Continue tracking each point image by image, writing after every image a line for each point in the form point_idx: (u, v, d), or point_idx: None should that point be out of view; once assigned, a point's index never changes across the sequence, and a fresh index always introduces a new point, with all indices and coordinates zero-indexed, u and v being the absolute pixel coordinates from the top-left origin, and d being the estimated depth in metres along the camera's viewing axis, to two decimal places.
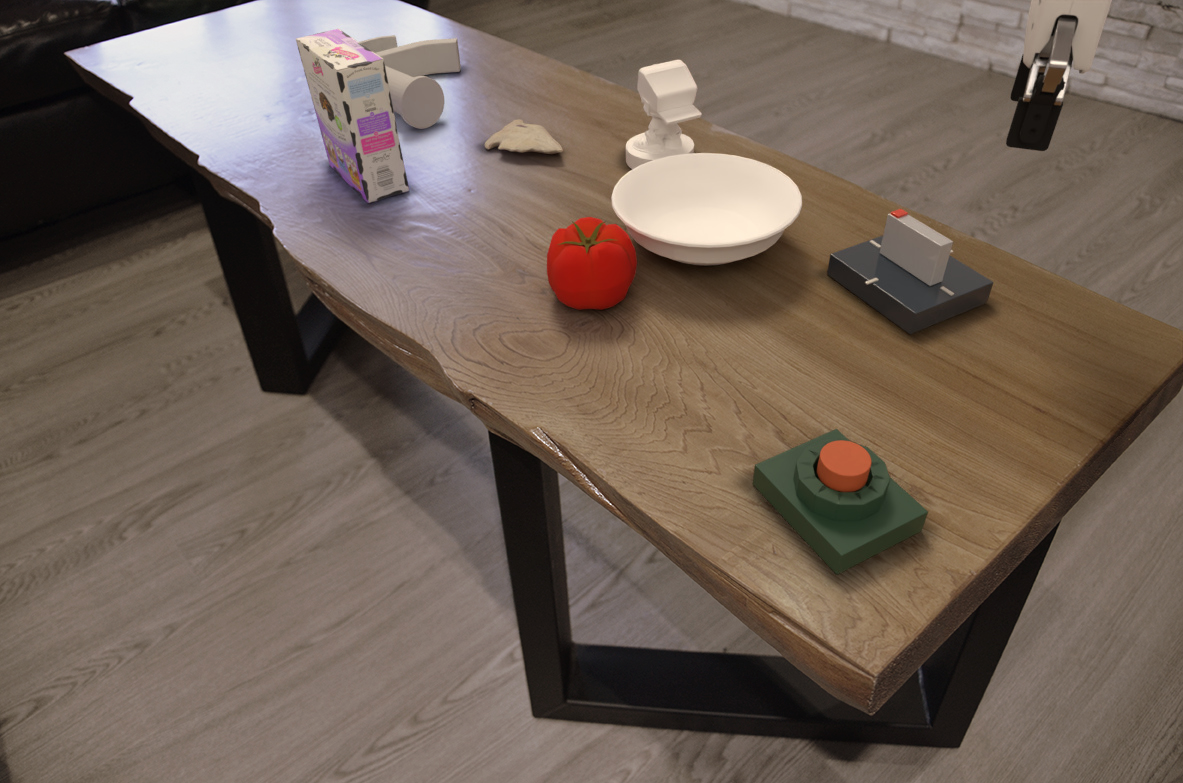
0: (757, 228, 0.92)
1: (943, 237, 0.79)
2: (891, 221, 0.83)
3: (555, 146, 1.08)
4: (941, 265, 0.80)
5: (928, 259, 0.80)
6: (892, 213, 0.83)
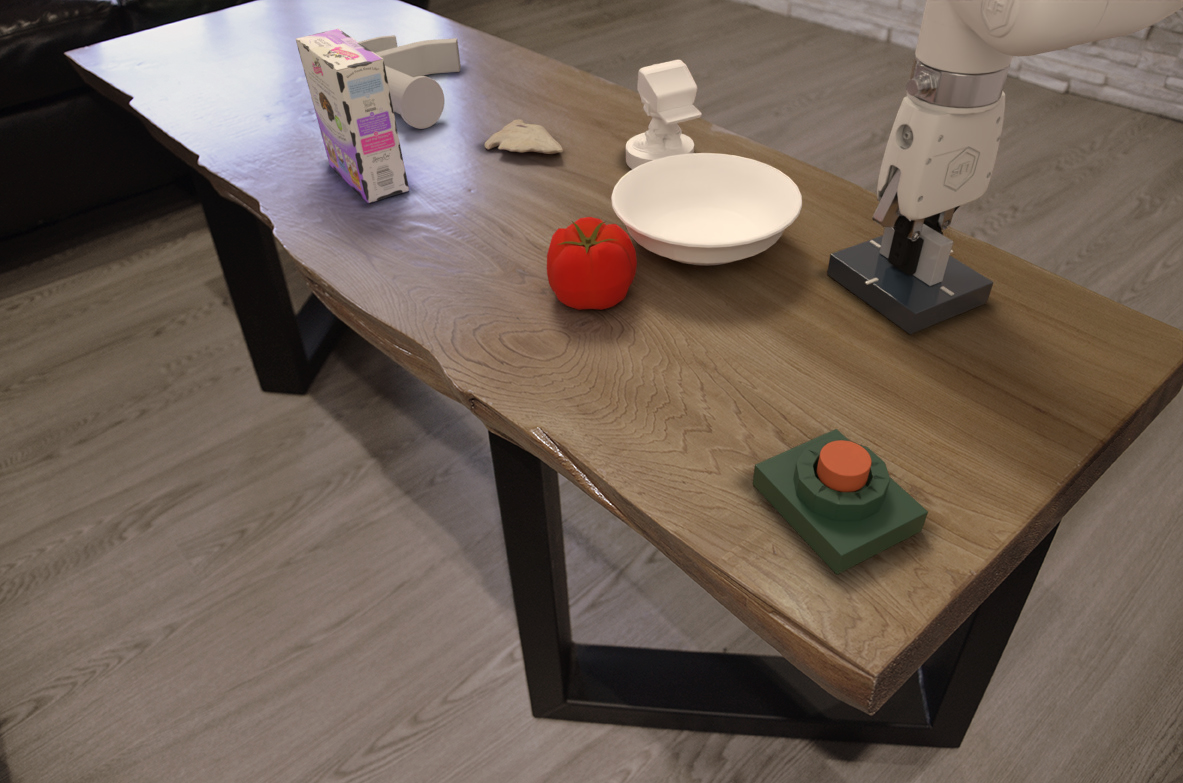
0: (757, 228, 0.92)
1: (943, 237, 0.79)
2: None
3: (555, 146, 1.08)
4: (941, 265, 0.80)
5: (928, 259, 0.80)
6: None
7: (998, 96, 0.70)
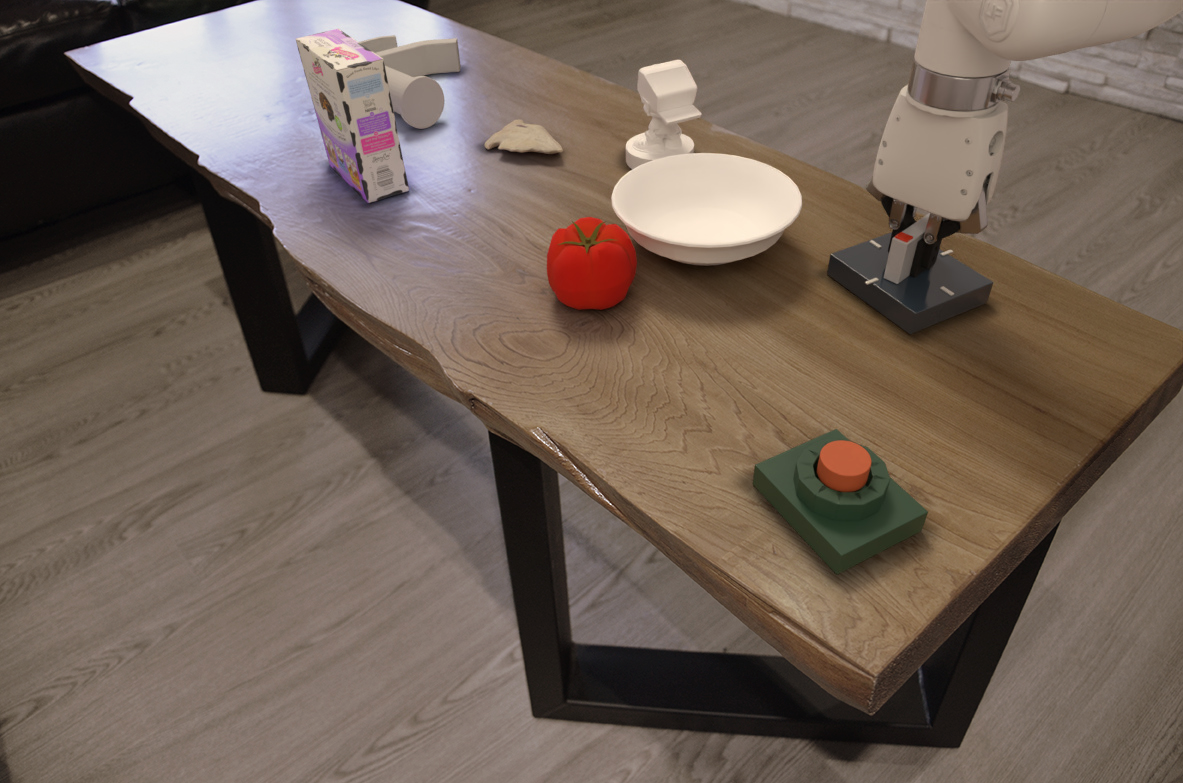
0: (757, 228, 0.92)
1: (929, 215, 0.82)
2: (910, 246, 0.79)
3: (555, 146, 1.08)
4: None
5: None
6: (908, 240, 0.79)
7: None
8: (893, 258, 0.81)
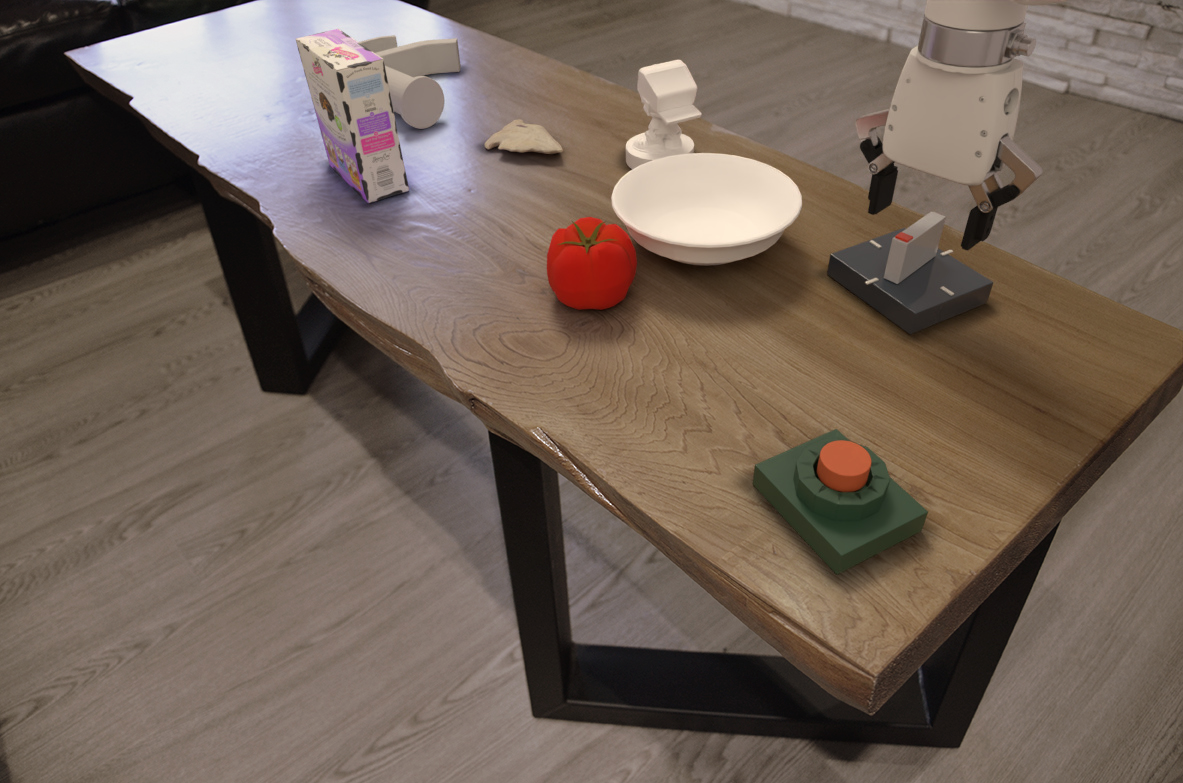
0: (757, 228, 0.92)
1: (929, 215, 0.82)
2: (910, 246, 0.79)
3: (555, 146, 1.08)
4: None
5: (936, 237, 0.83)
6: (908, 240, 0.79)
7: None
8: (893, 258, 0.81)
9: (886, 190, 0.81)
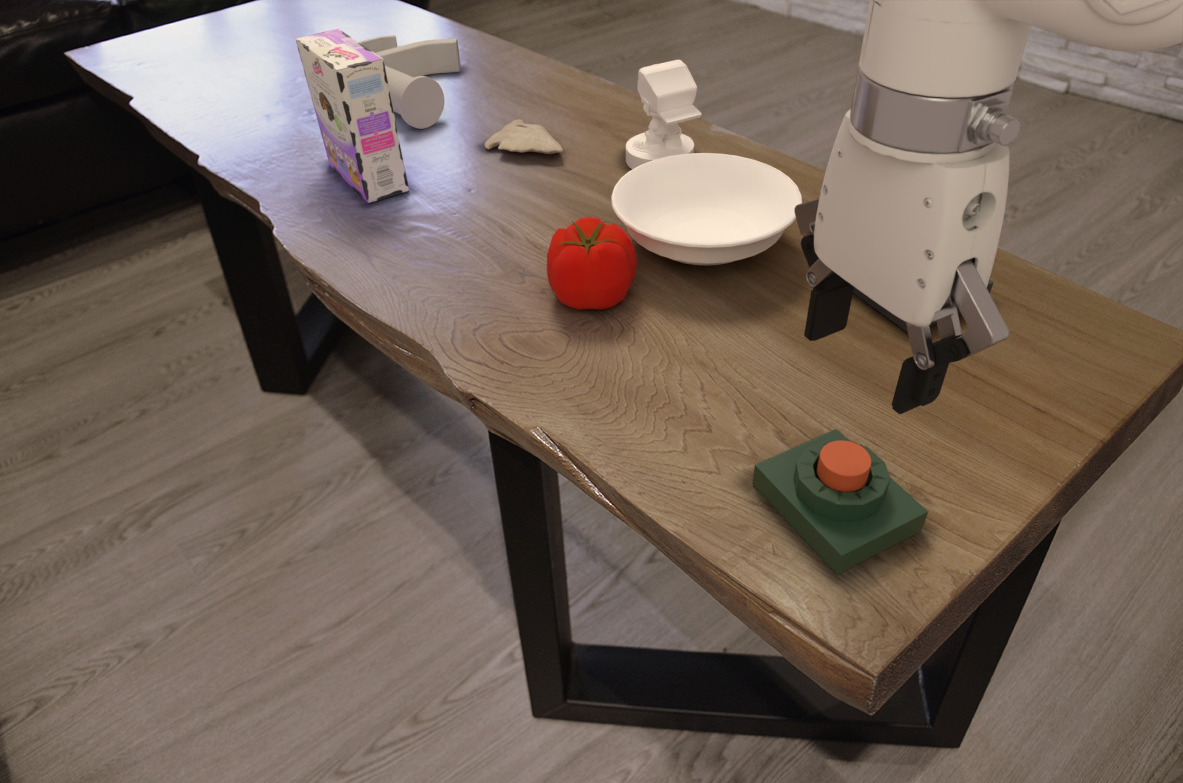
0: (757, 228, 0.92)
1: None
2: None
3: (555, 146, 1.08)
4: None
5: None
6: None
7: None
8: None
9: (832, 310, 0.56)
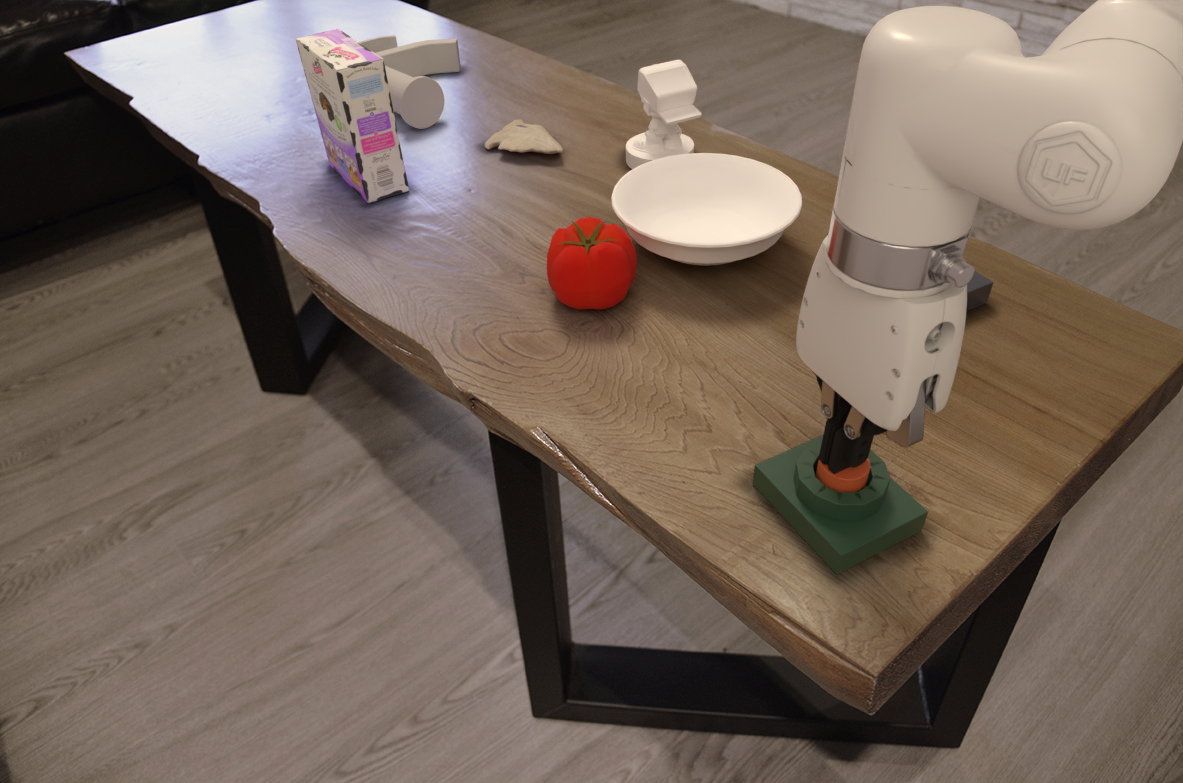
0: (757, 228, 0.92)
1: None
2: None
3: (555, 146, 1.08)
4: None
5: None
6: None
7: None
8: None
9: None
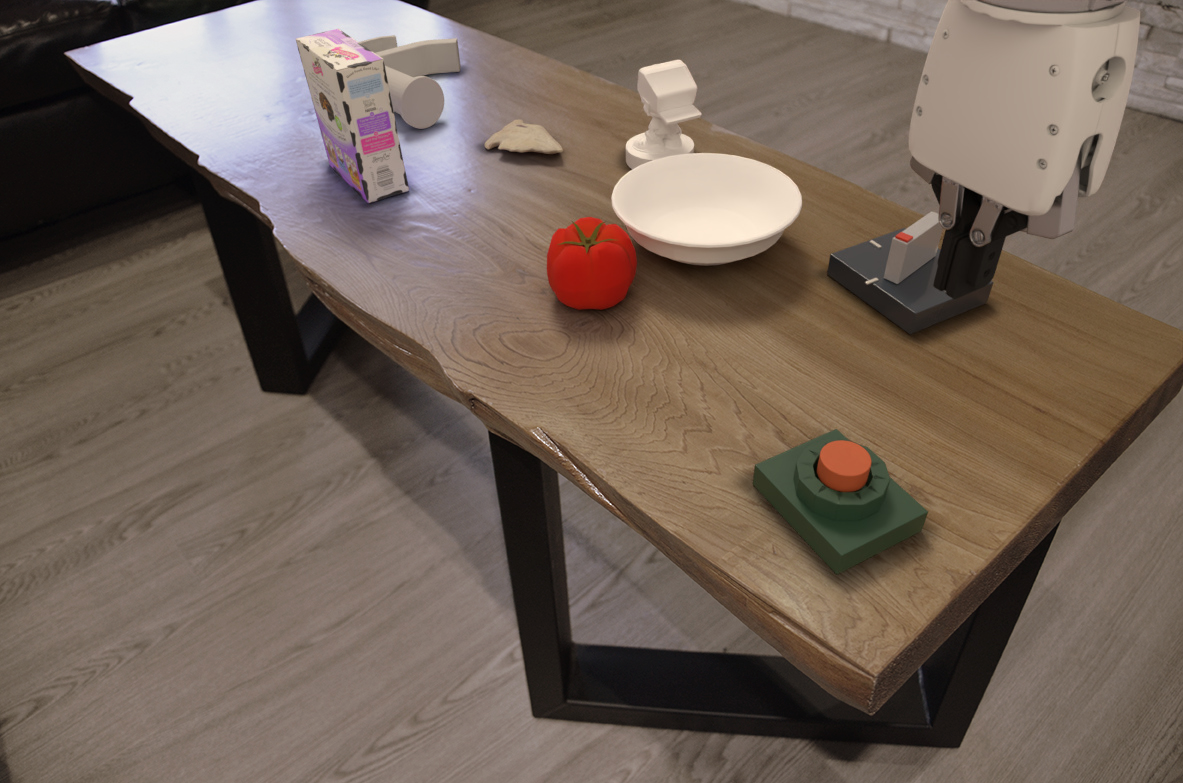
0: (757, 228, 0.92)
1: (929, 215, 0.82)
2: (910, 246, 0.79)
3: (555, 146, 1.08)
4: None
5: (936, 237, 0.83)
6: (908, 240, 0.79)
7: None
8: (893, 258, 0.81)
9: None
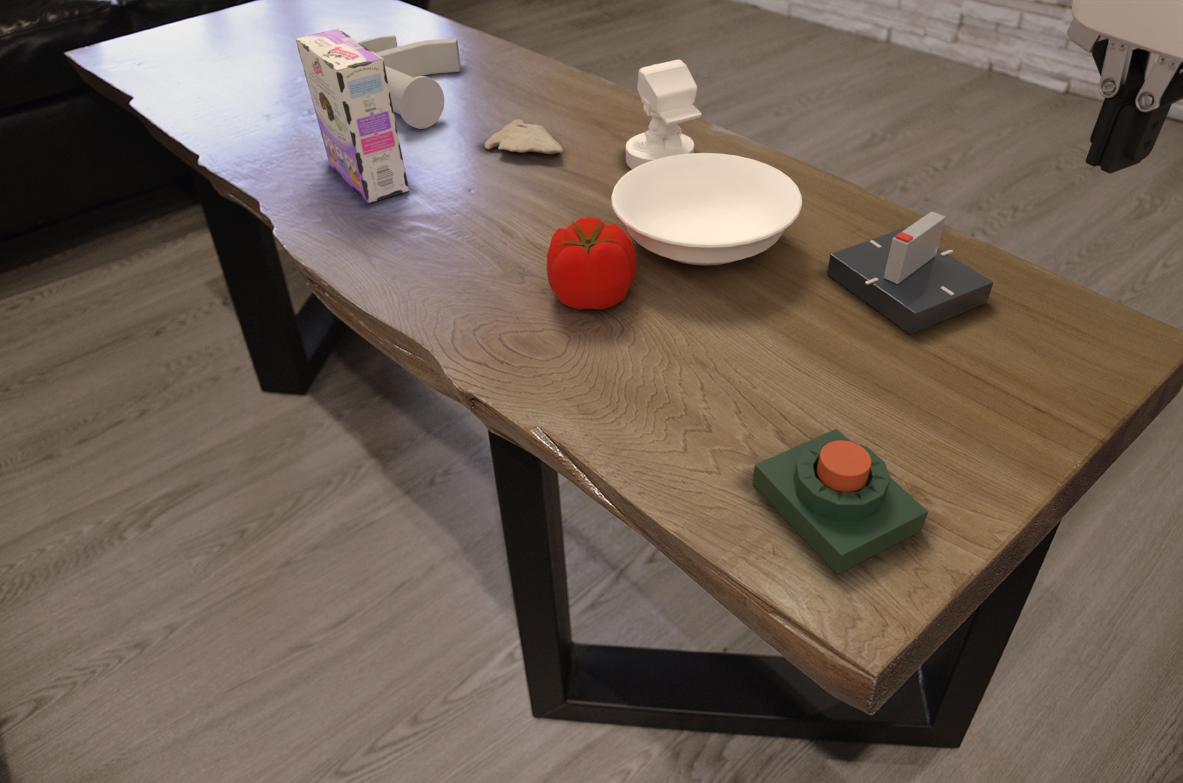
0: (757, 228, 0.92)
1: (929, 215, 0.82)
2: (910, 246, 0.79)
3: (555, 146, 1.08)
4: None
5: (936, 237, 0.83)
6: (908, 240, 0.79)
7: None
8: (893, 258, 0.81)
9: None
